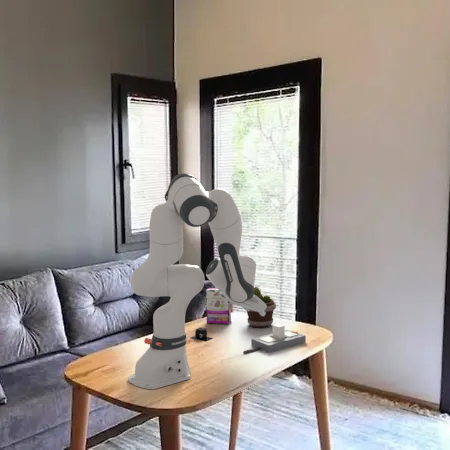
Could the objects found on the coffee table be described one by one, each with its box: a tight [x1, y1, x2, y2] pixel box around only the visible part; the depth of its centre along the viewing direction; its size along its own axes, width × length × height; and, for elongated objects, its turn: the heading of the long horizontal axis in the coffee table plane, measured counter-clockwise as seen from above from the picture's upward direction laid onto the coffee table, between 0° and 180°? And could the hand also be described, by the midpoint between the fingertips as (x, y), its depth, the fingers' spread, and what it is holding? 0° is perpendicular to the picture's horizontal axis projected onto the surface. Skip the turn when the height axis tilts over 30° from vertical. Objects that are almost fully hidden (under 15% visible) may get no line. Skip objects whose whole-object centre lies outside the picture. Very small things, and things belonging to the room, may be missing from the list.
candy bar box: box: [205, 287, 232, 325], centre depth 250 cm, size 11×5×16 cm, turn 81°
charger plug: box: [272, 323, 286, 340], centre depth 217 cm, size 3×4×8 cm
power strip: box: [242, 329, 307, 354], centre depth 215 cm, size 28×11×4 cm, turn 126°
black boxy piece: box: [189, 327, 214, 342], centre depth 227 cm, size 12×7×5 cm, turn 55°
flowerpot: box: [246, 284, 277, 329], centre depth 244 cm, size 14×15×20 cm
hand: (256, 312), depth 209 cm, fingers open, 8 cm apart
